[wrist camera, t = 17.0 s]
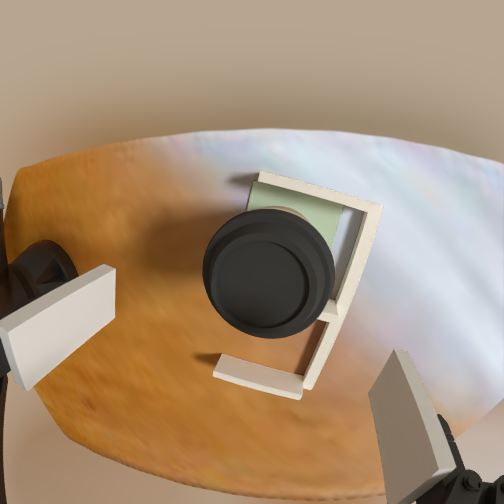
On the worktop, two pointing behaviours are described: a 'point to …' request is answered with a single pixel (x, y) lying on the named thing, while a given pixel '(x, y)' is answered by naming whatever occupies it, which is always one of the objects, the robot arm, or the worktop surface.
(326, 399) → the worktop surface
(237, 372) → the e-shaped divided frame
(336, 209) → the pad
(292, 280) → the coffee cup
